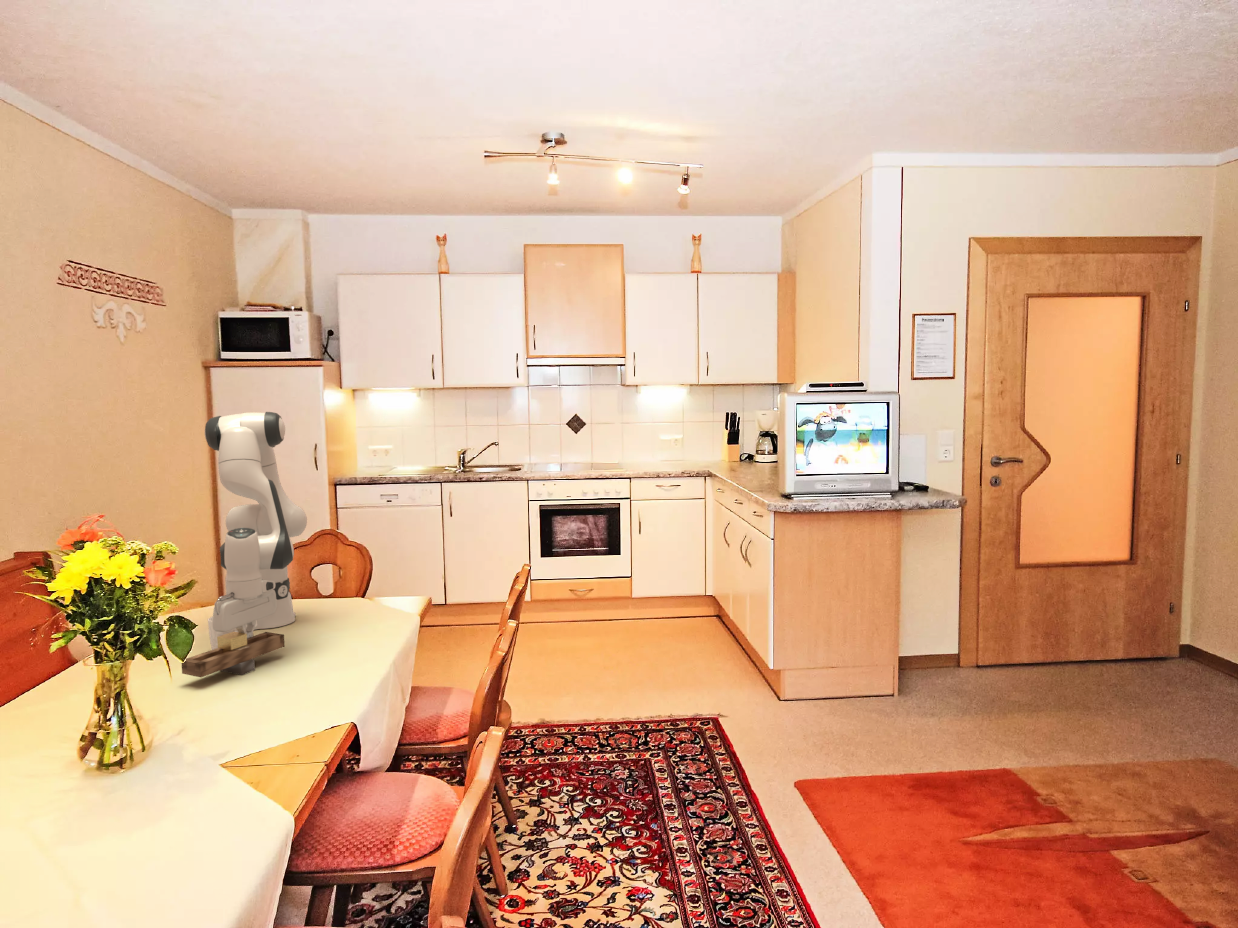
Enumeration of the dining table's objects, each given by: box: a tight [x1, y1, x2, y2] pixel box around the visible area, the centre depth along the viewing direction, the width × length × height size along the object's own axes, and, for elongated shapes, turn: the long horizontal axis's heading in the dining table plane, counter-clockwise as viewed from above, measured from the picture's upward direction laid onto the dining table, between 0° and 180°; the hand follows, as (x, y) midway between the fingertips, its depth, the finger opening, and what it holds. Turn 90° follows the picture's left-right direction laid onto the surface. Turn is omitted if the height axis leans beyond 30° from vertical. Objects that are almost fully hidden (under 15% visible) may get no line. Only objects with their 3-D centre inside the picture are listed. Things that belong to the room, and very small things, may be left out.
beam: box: [181, 631, 286, 678], centre depth 205 cm, size 26×9×7 cm, turn 156°
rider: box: [217, 632, 247, 653], centre depth 204 cm, size 5×5×5 cm
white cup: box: [207, 616, 238, 650], centre depth 221 cm, size 8×8×10 cm
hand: (246, 638), depth 208 cm, fingers closed
